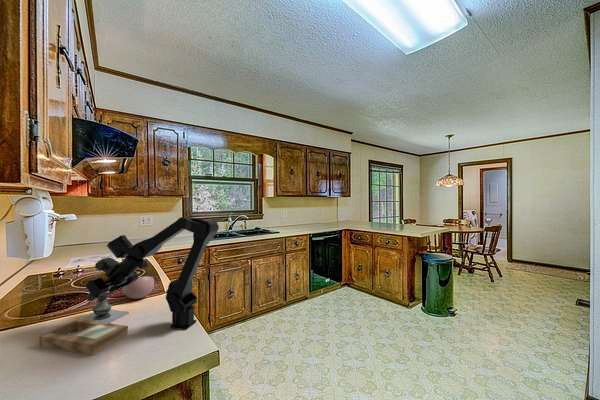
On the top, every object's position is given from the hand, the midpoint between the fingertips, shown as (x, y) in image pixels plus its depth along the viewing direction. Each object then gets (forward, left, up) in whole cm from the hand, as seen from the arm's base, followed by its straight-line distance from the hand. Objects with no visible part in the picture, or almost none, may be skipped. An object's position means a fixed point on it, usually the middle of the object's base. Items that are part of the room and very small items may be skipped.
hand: (99, 295), depth 97 cm
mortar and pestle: (+2, -20, -9) cm, 22 cm away
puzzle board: (-10, +13, -8) cm, 19 cm away
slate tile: (-1, 0, -8) cm, 8 cm away
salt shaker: (-1, 0, -8) cm, 8 cm away
